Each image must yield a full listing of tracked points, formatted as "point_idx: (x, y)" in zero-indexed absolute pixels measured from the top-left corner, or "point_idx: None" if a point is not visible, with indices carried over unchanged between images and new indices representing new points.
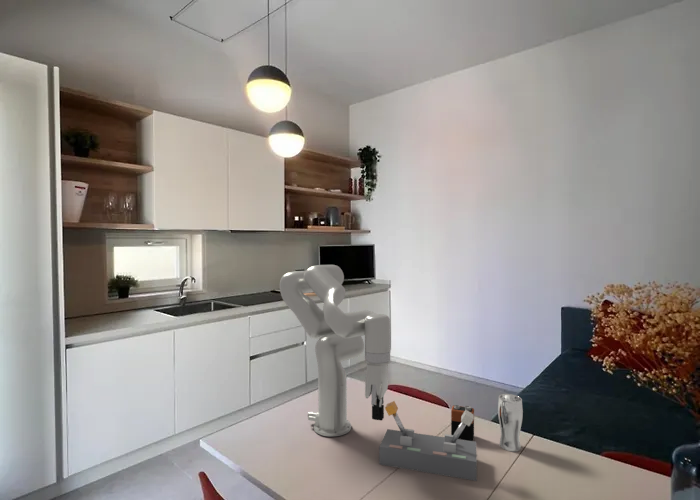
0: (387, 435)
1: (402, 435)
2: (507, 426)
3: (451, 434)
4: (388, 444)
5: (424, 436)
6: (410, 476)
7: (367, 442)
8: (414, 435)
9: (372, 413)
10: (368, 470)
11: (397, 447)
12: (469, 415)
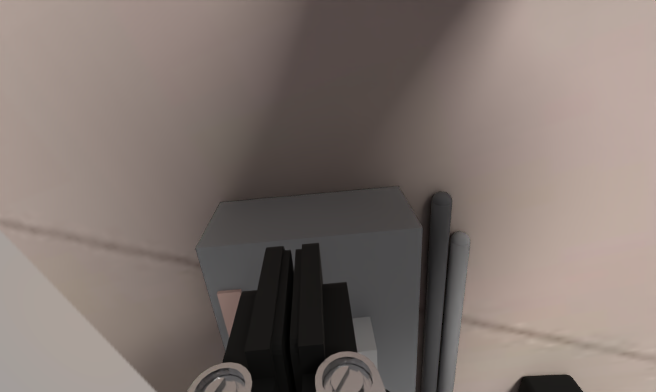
0: (340, 250)
1: (369, 313)
2: None
3: (530, 387)
4: (243, 280)
5: (394, 387)
6: (204, 319)
7: (397, 78)
8: (391, 354)
9: (260, 282)
10: (148, 174)
11: (228, 327)
12: None
